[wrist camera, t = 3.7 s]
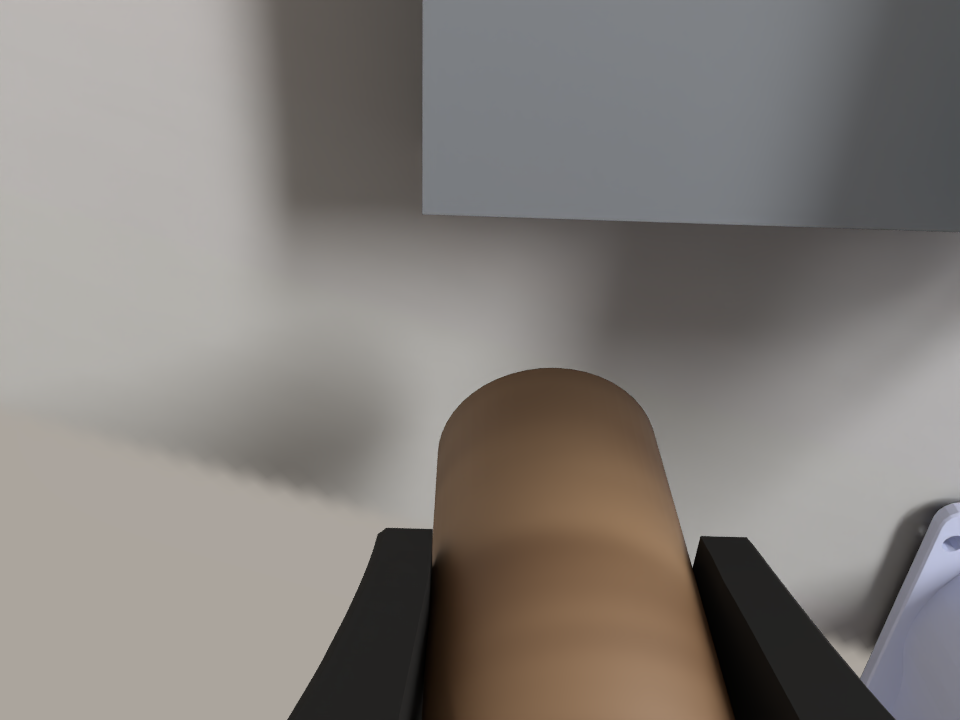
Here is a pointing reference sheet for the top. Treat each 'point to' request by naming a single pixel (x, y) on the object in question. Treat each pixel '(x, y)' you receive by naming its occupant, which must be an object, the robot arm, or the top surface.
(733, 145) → the socket block
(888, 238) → the top surface
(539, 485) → the peg
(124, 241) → the top surface
